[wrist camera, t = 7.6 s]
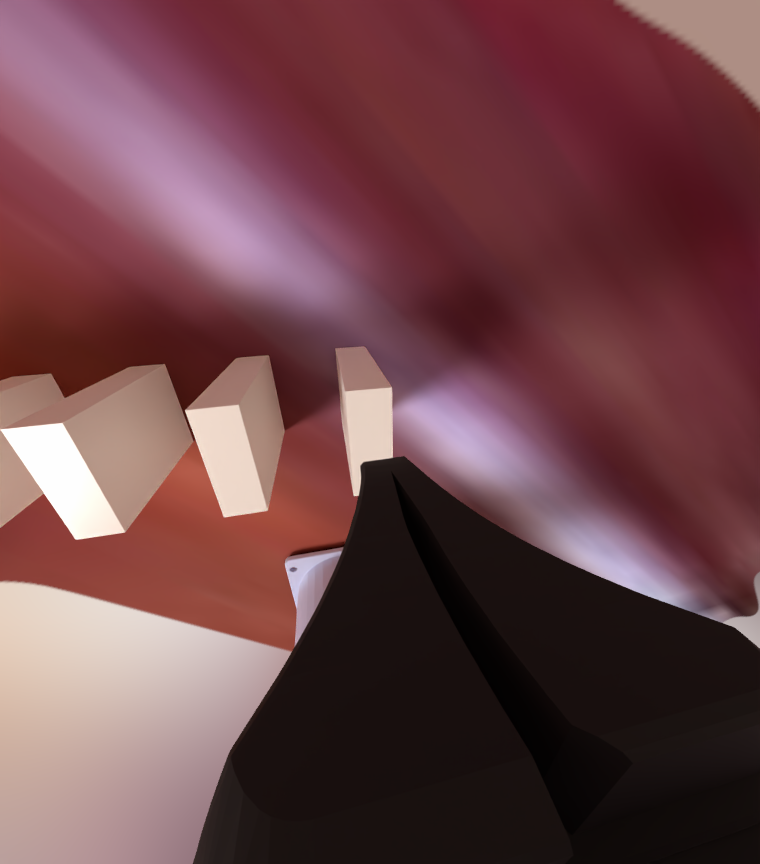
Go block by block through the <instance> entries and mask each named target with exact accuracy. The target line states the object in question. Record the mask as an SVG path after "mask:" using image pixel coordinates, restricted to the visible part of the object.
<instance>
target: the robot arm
mask: <svg viewBox="0 0 760 864" xmlns="http://www.w3.org/2000/svg"><path fill="white" fill-rule="evenodd" d="M360 471H361V484H360V491H359V496H358V501H357V506H356V510H355V514H354V517H353V520H352V523H351V527H350V530H349V533H348V536H347V539H346V542H345V545H344V547H341V548H335V549H329V550H324V551H318V552H312V553H306V554H300V555H295V556H290V557H288V558H287V559H286V560H285V567H286V571H287V575H288V578H289V582H290V586H291V589H292V593H293V597H294V600H295V604H296V608H297V619H296V636H295V647H294V649H293V651H292V653H291V655H290V656H289V658H288V660H287V662H286V663H285V665H284V667H283V668H282V670H281V672H280V673H279V675H278V676H277V678H276V680H275V681H274V683H273V684H272V686H271V687H270V689H269V691H268V692H267V694H266V695H265V697H264V699H263V700H262V702H261V703H260V705H259V706H258V708H257V709H256V711H255V713H254V714H253V716H252V717H251V719H250V721H249V722H248V724H247V725H246V727H245V728H244V730H243V731H242V733H241V734H240V736H239V738H238V739H237V741H236V742H235V744H234V745H233V747H232V749H231V750H230V753H229V755H228V757H227V760H226V763H225V765H224V768H223V771H222V773H221V776H220V779H219V782H218V785H217V787H216V790H215V793H214V796H213V799H212V802H211V805H210V808H209V812H208V814H207V817H206V821H205V824H204V827H203V830H202V833H201V837H200V841H199V845H198V849H197V852H196V855H195V859H194V862H193V864H760V648H758V647H757V646H756V645H755V644H753V643H752V642H751V641H750V640H749V639H748V638H747V637H745V636H744V635H743V634H742V633H741V632H739V631H738V630H737V629H736V628H734V627H732V626H729V625H726V624H723V623H720V622H718V621H715V620H712V619H709V618H707V617H704V616H701V615H698V614H695V613H693V612H690V611H687V610H684V609H682V608H679V607H676V606H673V605H670V604H668V603H665V602H662V601H659V600H657V599H654V598H651V597H648V596H646V595H643V594H640V593H638V592H635V591H633V590H630V589H628V588H626V587H623V586H621V585H618V584H616V583H614V582H611V581H609V580H606V579H604V578H601V577H599V576H597V575H594V574H592V573H590V572H587V571H585V570H583V569H581V568H579V567H576V566H574V565H572V564H570V563H567V562H565V561H563V560H561V559H559V558H557V557H555V556H553V555H551V554H549V553H547V552H545V551H543V550H541V549H539V548H537V547H535V546H533V545H531V544H529V543H527V542H525V541H523V540H521V539H520V538H518V537H516V536H514V535H513V534H511V533H509V532H507V531H506V530H504V529H502V528H500V527H499V526H497V525H495V524H494V523H492V522H490V521H489V520H487V519H485V518H484V517H482V516H481V515H479V514H478V513H476V512H475V511H473V510H472V509H470V508H469V507H467V506H466V505H464V504H463V503H462V502H460V501H459V500H457V499H456V498H455V497H453V496H452V495H451V494H449V493H448V492H447V491H445V490H444V489H443V488H442V487H440V486H439V485H438V484H437V483H435V482H434V481H433V480H432V479H430V478H429V477H428V476H427V475H426V474H424V473H423V472H422V471H421V470H420V469H419V468H417V467H416V466H415V465H414V464H413V463H412V462H410V461H409V460H408V459H407V458H406V457H404V456H403V457H395V458H388V459H381V460H373V461H366V462H363V463H362V464H361V465H360ZM292 567H295V568H292Z"/></svg>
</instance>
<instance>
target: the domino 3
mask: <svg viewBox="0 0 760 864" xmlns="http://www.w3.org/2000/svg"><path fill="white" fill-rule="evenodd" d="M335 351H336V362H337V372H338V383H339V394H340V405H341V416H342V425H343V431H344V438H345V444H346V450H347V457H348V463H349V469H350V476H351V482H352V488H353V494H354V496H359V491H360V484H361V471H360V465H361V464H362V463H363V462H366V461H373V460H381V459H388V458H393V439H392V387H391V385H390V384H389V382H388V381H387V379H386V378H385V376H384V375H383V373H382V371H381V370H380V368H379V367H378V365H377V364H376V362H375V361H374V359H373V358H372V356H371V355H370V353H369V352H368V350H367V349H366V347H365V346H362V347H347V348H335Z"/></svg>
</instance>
